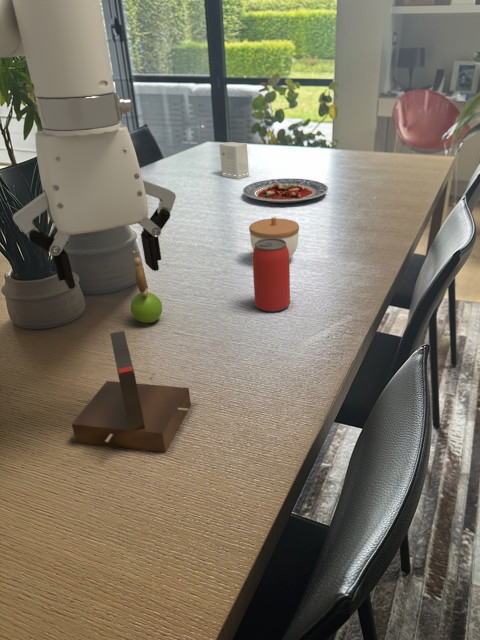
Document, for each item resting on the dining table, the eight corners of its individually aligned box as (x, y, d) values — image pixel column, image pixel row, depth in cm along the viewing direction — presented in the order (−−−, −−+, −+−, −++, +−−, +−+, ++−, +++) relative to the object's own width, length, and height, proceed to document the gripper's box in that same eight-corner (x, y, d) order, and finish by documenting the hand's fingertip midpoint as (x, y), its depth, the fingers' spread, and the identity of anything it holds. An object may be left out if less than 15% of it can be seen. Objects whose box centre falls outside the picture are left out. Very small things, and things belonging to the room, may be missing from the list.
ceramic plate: (314, 210, 153) (315, 200, 152) (230, 204, 161) (229, 194, 159) (337, 187, 174) (337, 178, 172) (260, 183, 181) (260, 174, 180)
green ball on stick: (161, 310, 102) (151, 248, 96) (166, 325, 97) (156, 260, 90) (131, 315, 101) (119, 252, 94) (135, 330, 95) (122, 265, 89)
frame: (121, 384, 76) (109, 331, 71) (134, 381, 76) (123, 329, 72) (130, 431, 67) (117, 374, 62) (145, 427, 67) (134, 370, 63)
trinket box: (303, 266, 119) (303, 223, 114) (254, 270, 117) (251, 227, 112) (294, 249, 128) (293, 209, 122) (248, 253, 126) (246, 212, 121)
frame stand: (54, 454, 68) (48, 434, 66) (108, 387, 81) (104, 368, 79) (170, 468, 66) (167, 447, 64) (207, 395, 78) (205, 377, 76)
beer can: (253, 299, 105) (250, 238, 99) (287, 296, 106) (286, 236, 99) (256, 314, 100) (253, 250, 93) (292, 311, 100) (291, 248, 94)
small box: (249, 176, 190) (247, 143, 185) (237, 179, 187) (235, 146, 181) (233, 173, 195) (230, 141, 189) (221, 176, 191) (219, 143, 186)
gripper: (152, 104, 61) (172, 252, 70) (-18, 118, 54) (29, 280, 63) (175, 111, 55) (193, 270, 65) (-11, 128, 49) (39, 304, 58)
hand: (112, 275), depth 64 cm, fingers open, 9 cm apart
